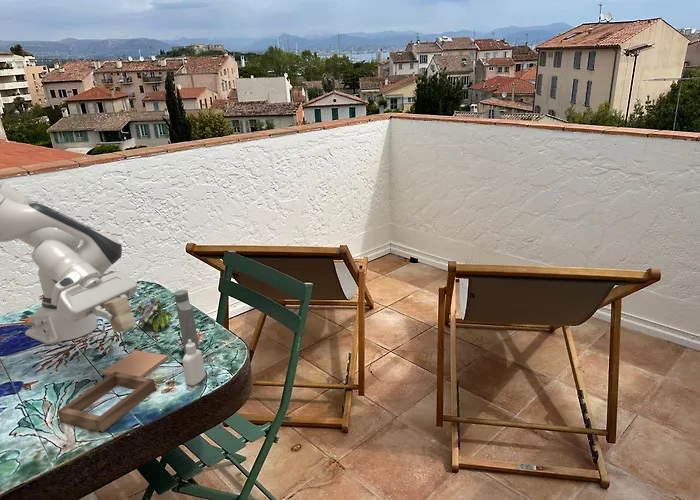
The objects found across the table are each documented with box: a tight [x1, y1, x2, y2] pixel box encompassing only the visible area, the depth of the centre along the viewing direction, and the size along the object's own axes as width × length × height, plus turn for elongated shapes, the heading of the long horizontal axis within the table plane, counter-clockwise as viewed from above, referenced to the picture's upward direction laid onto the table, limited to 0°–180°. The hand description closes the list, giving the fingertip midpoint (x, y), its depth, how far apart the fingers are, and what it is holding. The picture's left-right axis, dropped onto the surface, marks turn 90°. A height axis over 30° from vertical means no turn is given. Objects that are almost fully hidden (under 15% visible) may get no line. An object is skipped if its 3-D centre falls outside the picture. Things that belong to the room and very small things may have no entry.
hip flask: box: [173, 289, 200, 355], centre depth 132 cm, size 16×4×20 cm, turn 25°
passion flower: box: [135, 296, 175, 333], centre depth 153 cm, size 11×11×12 cm
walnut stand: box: [56, 372, 157, 433], centre depth 112 cm, size 13×17×3 cm
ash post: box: [103, 297, 137, 333], centre depth 119 cm, size 4×4×8 cm
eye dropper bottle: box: [182, 339, 206, 386], centre depth 120 cm, size 4×6×12 cm
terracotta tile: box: [102, 349, 169, 378], centre depth 129 cm, size 12×12×1 cm
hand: (121, 313), depth 118 cm, fingers closed on ash post, 4 cm apart
